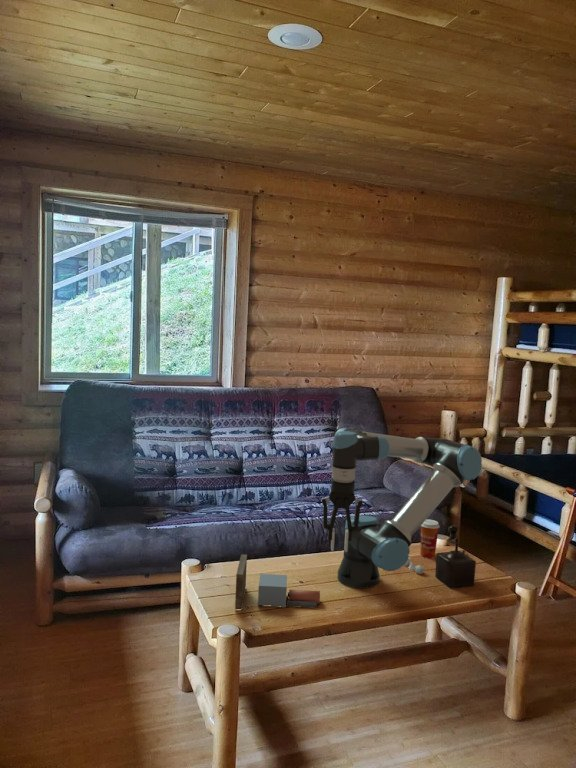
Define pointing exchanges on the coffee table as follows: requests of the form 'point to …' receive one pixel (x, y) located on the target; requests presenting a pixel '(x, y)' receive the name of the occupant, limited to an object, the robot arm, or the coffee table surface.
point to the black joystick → (455, 565)
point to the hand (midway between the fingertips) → (339, 549)
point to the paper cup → (429, 538)
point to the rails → (301, 603)
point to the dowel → (304, 595)
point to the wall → (240, 581)
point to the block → (272, 590)
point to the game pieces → (418, 568)
